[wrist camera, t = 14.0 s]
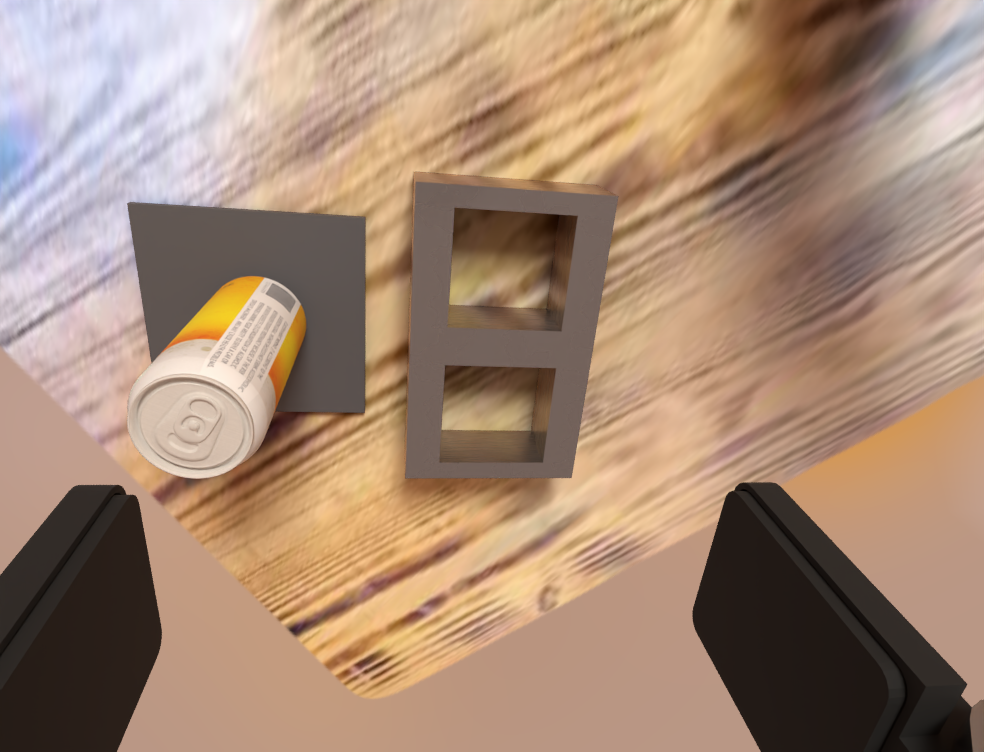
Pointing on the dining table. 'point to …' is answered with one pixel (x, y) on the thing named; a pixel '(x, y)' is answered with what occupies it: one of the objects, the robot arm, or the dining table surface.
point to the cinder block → (503, 328)
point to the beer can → (218, 380)
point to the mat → (271, 254)
